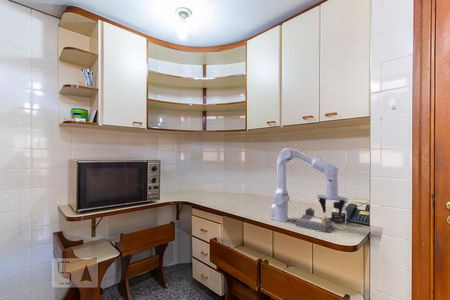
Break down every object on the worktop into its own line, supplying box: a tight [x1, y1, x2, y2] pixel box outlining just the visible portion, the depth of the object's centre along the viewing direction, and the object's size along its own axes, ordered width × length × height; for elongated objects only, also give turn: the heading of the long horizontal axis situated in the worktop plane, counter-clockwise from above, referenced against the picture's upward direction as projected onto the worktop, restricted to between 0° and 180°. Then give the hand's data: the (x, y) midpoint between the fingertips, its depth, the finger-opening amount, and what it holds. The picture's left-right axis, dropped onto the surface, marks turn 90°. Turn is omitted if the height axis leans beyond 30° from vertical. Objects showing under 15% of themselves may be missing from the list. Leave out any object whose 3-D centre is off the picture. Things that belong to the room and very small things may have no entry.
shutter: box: [310, 215, 328, 223], centre depth 122 cm, size 7×7×3 cm
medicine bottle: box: [331, 201, 348, 226], centre depth 130 cm, size 7×7×12 cm
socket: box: [296, 214, 332, 233], centre depth 124 cm, size 15×12×4 cm
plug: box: [305, 207, 315, 217], centre depth 135 cm, size 4×4×7 cm
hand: (332, 213), depth 118 cm, fingers open, 7 cm apart
